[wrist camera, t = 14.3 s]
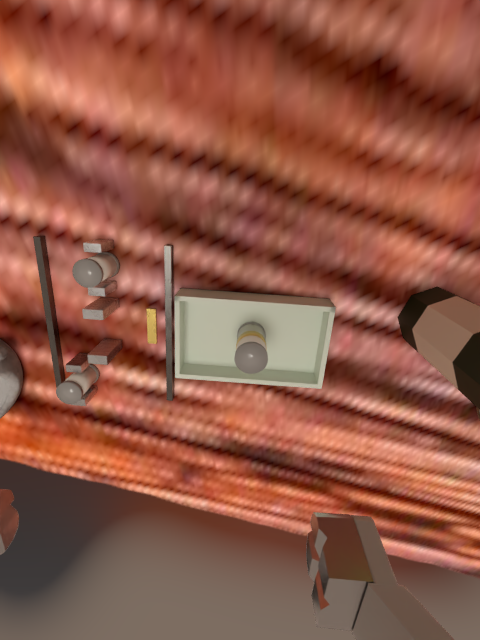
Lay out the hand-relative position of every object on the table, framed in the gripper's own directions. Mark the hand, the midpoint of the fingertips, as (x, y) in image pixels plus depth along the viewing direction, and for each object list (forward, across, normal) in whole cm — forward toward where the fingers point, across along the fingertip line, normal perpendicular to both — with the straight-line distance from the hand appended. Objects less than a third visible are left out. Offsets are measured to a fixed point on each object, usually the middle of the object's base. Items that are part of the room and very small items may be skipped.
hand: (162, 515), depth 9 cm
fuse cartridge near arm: (+34, +16, +1) cm, 38 cm away
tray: (+34, -3, +9) cm, 36 cm away
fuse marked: (+34, -3, +9) cm, 35 cm away
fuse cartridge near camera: (+34, +20, +17) cm, 43 cm away
